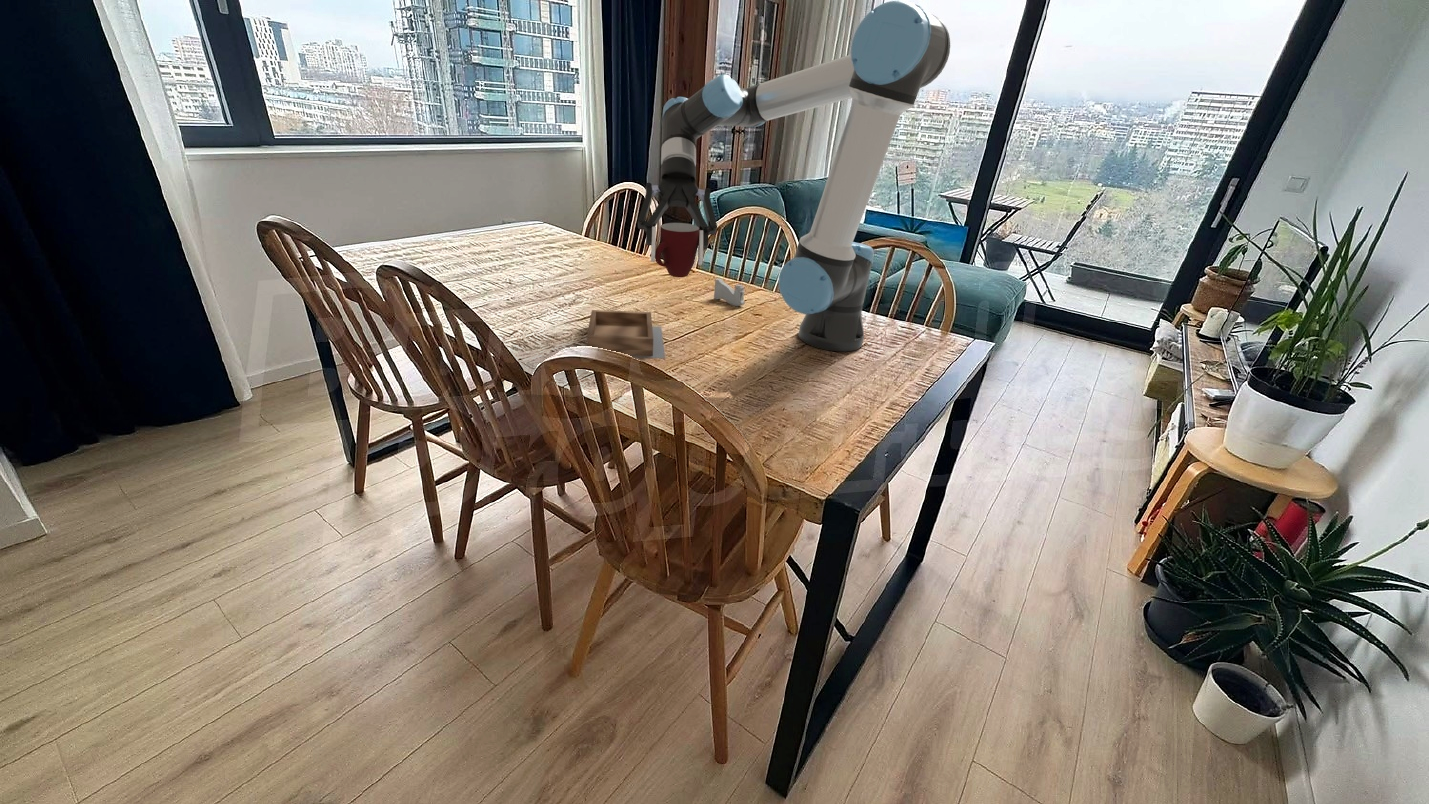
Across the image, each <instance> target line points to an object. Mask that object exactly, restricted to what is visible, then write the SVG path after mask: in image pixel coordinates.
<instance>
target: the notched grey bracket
mask: <svg viewBox="0 0 1429 804" xmlns="http://www.w3.org/2000/svg"><path fill="white" fill-rule="evenodd" d="M714 281H715V282H714V290H713V291H714V292H713V293H714V294H713V299H714V300H716V301H717V300H720V299H721V300H723V301H725V302H726V303H727V304H729V305H730V306H736V307H740V306H743V305H745V304H746V301H745V300H744V293H746V291H745V290H744V289H745V287H744V285H742V284H735V285H734V288H733V287H731V286H730V285H729V284H728V283H726V282H724V280H723V279H722V278H715V279H714Z"/></svg>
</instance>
